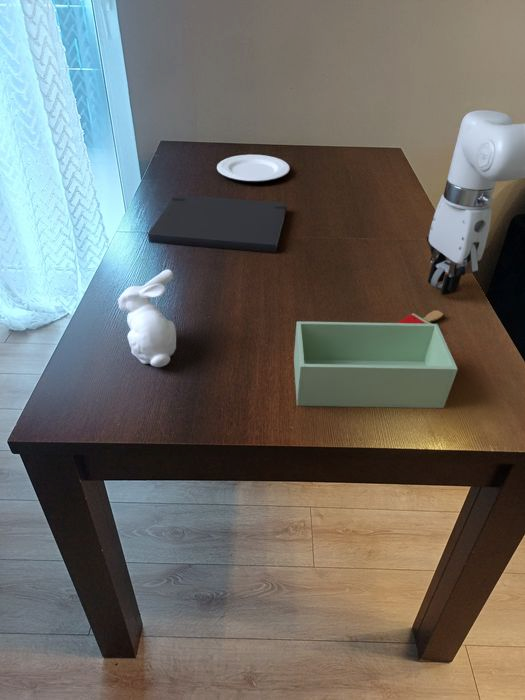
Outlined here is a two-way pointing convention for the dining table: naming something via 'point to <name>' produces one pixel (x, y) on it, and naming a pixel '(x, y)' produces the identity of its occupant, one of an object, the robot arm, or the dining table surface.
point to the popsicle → (419, 320)
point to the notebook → (220, 223)
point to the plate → (253, 168)
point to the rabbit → (149, 322)
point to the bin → (372, 365)
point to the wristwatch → (441, 268)
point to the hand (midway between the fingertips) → (441, 286)
